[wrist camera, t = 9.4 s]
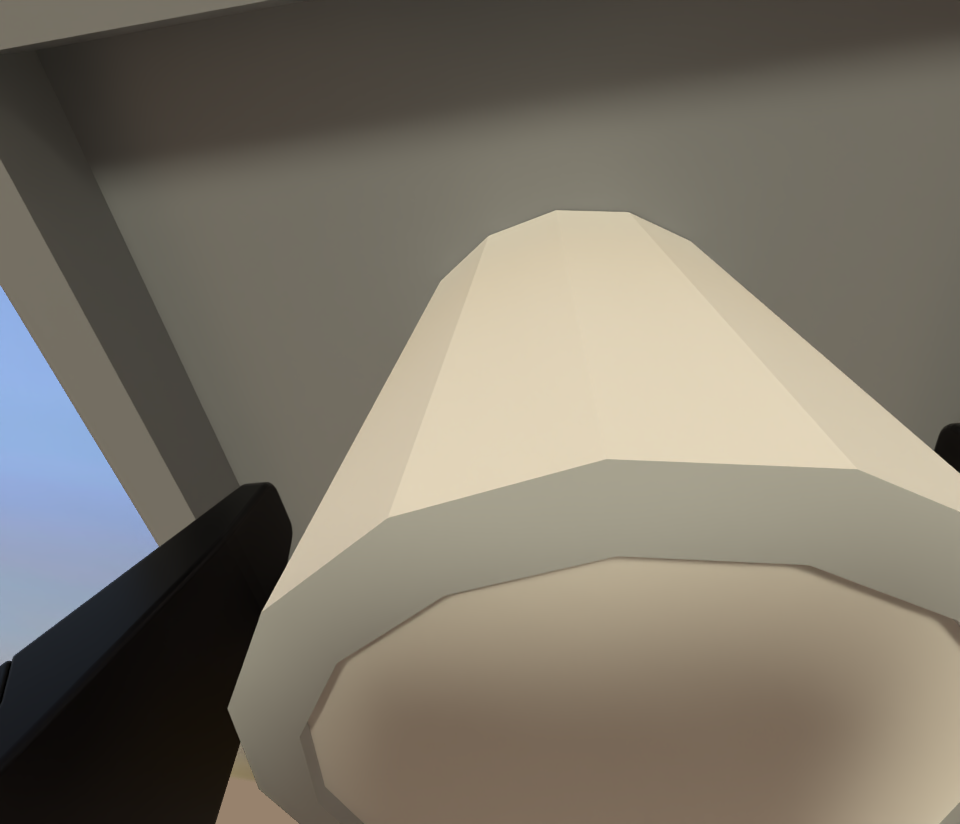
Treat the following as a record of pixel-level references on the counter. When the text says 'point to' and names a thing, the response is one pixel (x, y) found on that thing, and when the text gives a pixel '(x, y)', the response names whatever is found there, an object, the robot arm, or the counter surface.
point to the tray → (446, 197)
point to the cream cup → (614, 567)
